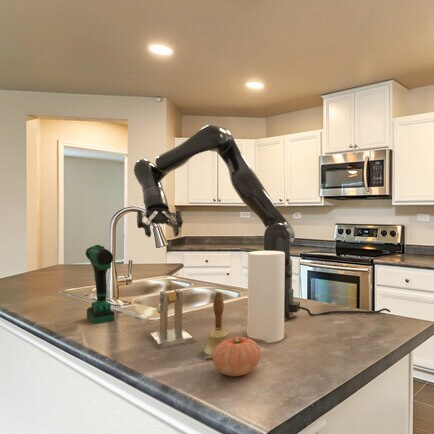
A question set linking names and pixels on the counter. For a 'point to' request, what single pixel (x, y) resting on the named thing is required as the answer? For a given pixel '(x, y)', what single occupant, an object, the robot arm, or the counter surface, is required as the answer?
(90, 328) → the counter surface
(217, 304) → the hand bell
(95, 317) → the power drill
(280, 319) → the tall pillar cylinder
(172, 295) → the lever
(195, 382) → the counter surface
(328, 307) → the counter surface
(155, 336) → the bracket
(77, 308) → the counter surface
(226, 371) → the pumpkin
